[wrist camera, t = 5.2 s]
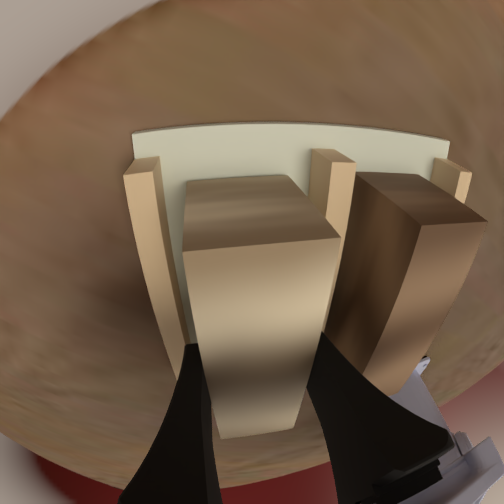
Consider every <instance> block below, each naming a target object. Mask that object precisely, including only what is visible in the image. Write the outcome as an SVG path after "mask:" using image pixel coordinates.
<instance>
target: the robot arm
mask: <svg viewBox="0 0 504 504" xmlns="http://www.w3.org/2000/svg"><path fill="white" fill-rule="evenodd" d="M429 362H430V358H429V357H426V358H423V359H421V360H420V362H419V363H418V365H417V366H416V368H415V369H414V371H413V372H412V374H411V375H410V377H409V378H408V380H407V381H406V382H405V384H404V385H403V387H402V388H401V389H400V391H399V392H398V393H396V394H394V395H391V396H387V395H385V394H384V393H383V392H382V391H380V390H379V389H378V388H377V387H376V386H374V385H373V384H372V383H371V382H370V381H369V380H368V379H366V378H365V377H364V376H363V375H362V374H361V373H360V372H359V371H358V370H357V369H356V368H355V367H354V366H353V365H352V364H351V363H350V362H349V361H348V360H347V359H346V358H345V357H344V356H343V354H342V353H341V352H340V351H339V350H338V349H337V348H336V347H335V346H334V344H333V343H332V342H331V341H330V340H329V339H328V337H327V336H326V335H325V334H324V333H323V331H321V335H320V339H319V343H318V347H317V350H316V354H315V358H314V362H313V365H312V369H311V372H310V376H309V379H308V383H307V386H306V388H307V390H308V393H309V395H310V398H311V400H312V403H313V406H314V408H315V411H316V413H317V416H318V418H319V421H320V423H321V426H322V429H323V433H324V436H325V440H326V444H327V448H328V452H329V456H330V460H331V465H332V469H333V474H334V479H335V485H336V491H337V498H338V504H480V502H481V501H482V499H483V498H484V496H485V494H486V492H487V490H488V489H489V488H490V487H491V486H492V485H493V484H495V483H496V482H497V481H498V480H499V479H500V478H501V477H502V476H503V475H504V464H503V462H502V460H501V457H500V455H499V453H498V451H497V449H496V447H495V445H494V443H493V441H492V439H491V437H487V438H486V439H485V440H483V441H482V442H481V443H479V444H478V445H477V446H475V447H473V445H472V443H471V441H470V439H469V437H468V436H467V434H466V433H464V432H460V431H459V432H457V433H456V434H455V435H454V433H452V432H450V430H449V428H448V426H447V424H446V422H445V420H444V418H443V416H442V415H441V413H440V411H439V409H438V407H437V405H436V403H435V402H434V400H433V398H432V396H431V394H430V393H429V391H428V389H427V387H426V386H425V384H424V382H423V380H422V379H421V377H420V375H421V373H422V372H423V370H424V369H425V367H426V366H427V365H428V363H429ZM117 504H223V503H222V498H221V493H220V487H219V482H218V476H217V471H216V465H215V458H214V452H213V442H212V418H211V399H210V395H209V391H208V386H207V382H206V378H205V373H204V369H203V364H202V359H201V355H200V350H199V345H198V343H193V344H186V345H185V346H184V354H183V360H182V365H181V369H180V373H179V377H178V380H177V383H176V387H175V390H174V393H173V396H172V399H171V402H170V405H169V408H168V410H167V413H166V416H165V418H164V421H163V423H162V425H161V427H160V430H159V432H158V434H157V436H156V438H155V440H154V442H153V444H152V446H151V448H150V450H149V452H148V454H147V456H146V457H145V459H144V461H143V462H142V464H141V466H140V467H139V469H138V470H137V472H136V474H135V475H134V477H133V478H132V480H131V481H130V483H129V484H128V485H127V487H126V488H125V489H124V491H123V492H122V494H121V495H120V496H119V499H118V503H117Z"/></svg>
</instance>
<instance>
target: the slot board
mask: <svg viewBox="0 0 504 504" xmlns="http://www.w3.org/2000/svg"><path fill="white" fill-rule="evenodd" d="M132 140H133V148H134V156H135V160H134V161H133V162H132V164H131V165H130V166H129V168H128V169H127V171H126V172H125V173H124V175H123V177H124V183H125V189H126V195H127V201H128V206H129V211H130V216H131V221H132V226H133V231H134V235H135V240H136V244H137V249H138V253H139V257H140V261H141V265H142V269H143V273H144V277H145V281H146V285H147V288H148V292H149V296H150V299H151V303H152V306H153V310H154V313H155V316H156V320H157V323H158V326H159V329H160V332H161V336H162V339H163V342H164V345H165V348H166V351H167V354H168V357H169V360H170V362H171V365H172V368H173V371H174V374H175V376H176V379H177V380H178V377H179V373H180V369H181V365H182V360H183V354H184V346H185V345H186V344H193V343H198V340H197V335H196V330H195V325H194V320H193V314H192V309H191V303H190V298H189V292H188V286H187V280H186V274H185V268H184V261H183V255H182V243H183V226H184V210H185V197H186V185H187V181H197V180H209V179H223V178H238V177H256V176H279V175H288V176H289V177H290V178H291V179H292V180H293V181H294V182H295V184H296V185H297V186H298V187H299V188H300V189H301V190H302V191H303V193H304V194H305V195H306V196H307V197H308V198H309V199H310V201H311V202H312V203H313V204H314V205H315V206H316V208H317V209H318V210H319V211H320V212H321V214H322V215H323V216H324V217H325V218H326V219H327V221H328V222H329V223H330V224H331V225H332V227H333V228H334V229H335V230H336V232H337V233H338V234H339V235H340V236H341V243H340V248H339V253H338V259H337V264H336V269H335V274H334V279H333V283H332V288H331V293H330V297H329V302H328V306H327V310H326V315H325V319H324V323H323V327H322V331H323V333H324V329H325V326H326V322H327V318H328V314H329V310H330V306H331V301H332V297H333V293H334V288H335V284H336V279H337V275H338V270H339V265H340V261H341V256H342V251H343V246H344V240H345V235H346V230H347V224H348V218H349V212H350V206H351V200H352V193H353V187H354V180H355V173H356V172H387V173H406V174H418V175H420V176H422V177H423V178H425V179H427V180H428V181H430V182H432V183H433V184H435V185H436V186H438V187H439V188H441V189H443V190H444V191H446V192H447V193H449V194H450V195H452V196H453V197H455V198H456V199H457V200H459V201H460V202H462V203H463V204H464V203H465V199H466V196H467V192H468V188H469V184H470V180H471V176H472V172H470V171H468V170H466V169H465V168H463V167H461V166H459V165H457V164H455V163H453V162H451V161H449V160H448V159H447V155H448V150H449V144H450V141H447V140H445V139H443V138H438V137H433V136H427V135H422V134H416V133H410V132H403V131H396V130H389V129H382V128H373V127H364V126H354V125H342V124H328V123H309V122H232V123H213V124H198V125H186V126H176V127H167V128H158V129H150V130H143V131H136V132H134V133H133V134H132Z"/></svg>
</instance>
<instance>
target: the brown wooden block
mask: <svg viewBox="0 0 504 504" xmlns="http://www.w3.org/2000/svg"><path fill="white" fill-rule="evenodd" d="M487 223H488V221H486V220H485V219H484V218H483V217H481V216H480V215H479V214H477V213H476V212H474V211H473V210H472V209H470V208H469V207H468V206H466V205H465V204H463V203H462V202H460V201H459V200H457V199H456V198H455V197H453V196H452V195H450V194H449V193H447V192H446V191H444V190H443V189H441V188H439V187H438V186H436V185H435V184H433V183H432V182H430V181H428V180H427V179H425V178H423V177H422V176H420V175H418V174H406V173H387V172H356V173H355V180H354V187H353V193H352V200H351V206H350V212H349V218H348V224H347V230H346V235H345V240H344V246H343V251H342V256H341V261H340V265H339V270H338V275H337V279H336V284H335V288H334V293H333V297H332V301H331V306H330V310H329V314H328V318H327V322H326V326H325V329H324V334H325V335H326V336H327V337H328V339H329V340H330V341H331V342H332V343H333V344H334V346H335V347H336V348H337V349H338V350H339V351H340V352H341V353H342V354H343V356H344V357H345V358H346V359H347V360H348V361H349V362H350V363H351V364H352V365H353V366H354V367H355V368H356V369H357V370H358V371H359V372H360V373H361V374H362V375H363V376H364V377H365V378H366V379H368V380H369V381H370V382H371V383H372V384H373V385H374V386H376V387H377V388H378V389H379V390H380V391H382V392H383V393H384V394H385V395H387V396H391V395H394V394H396V393H398V392H399V391H400V389H401V388H402V387H403V385H404V384H405V382H406V381H407V380H408V378H409V377H410V375H411V374H412V372H413V371H414V369H415V368H416V366H417V365H418V363H419V362H420V360H421V359H422V357H423V356H424V354H425V353H426V351H427V349H428V348H429V346H430V345H431V343H432V341H433V340H434V338H435V336H436V334H437V333H438V331H439V329H440V328H441V326H442V324H443V322H444V320H445V319H446V317H447V315H448V313H449V311H450V309H451V307H452V305H453V303H454V301H455V299H456V297H457V295H458V293H459V291H460V289H461V287H462V285H463V283H464V281H465V279H466V276H467V274H468V272H469V270H470V267H471V265H472V263H473V260H474V258H475V255H476V253H477V250H478V248H479V245H480V243H481V240H482V237H483V235H484V232H485V229H486V226H487Z"/></svg>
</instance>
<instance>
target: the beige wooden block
mask: <svg viewBox="0 0 504 504" xmlns="http://www.w3.org/2000/svg"><path fill="white" fill-rule="evenodd" d="M340 243H341V236H340V235H339V234H338V233H337V232H336V230H335V229H334V228H333V227H332V225H331V224H330V223H329V222H328V221H327V219H326V218H325V217H324V216H323V215H322V214H321V212H320V211H319V210H318V209H317V208H316V206H315V205H314V204H313V203H312V202H311V201H310V199H309V198H308V197H307V196H306V195H305V194H304V193H303V191H302V190H301V189H300V188H299V187H298V186H297V185H296V184H295V182H294V181H293V180H292V179H291V178H290V177H289V176H288V175H279V176H256V177H238V178H223V179H209V180H197V181H187V185H186V197H185V210H184V226H183V243H182V255H183V261H184V268H185V274H186V280H187V286H188V292H189V298H190V303H191V309H192V314H193V320H194V325H195V330H196V335H197V340H198V345H199V350H200V355H201V359H202V364H203V369H204V373H205V378H206V382H207V386H208V391H209V395H210V399H211V403H212V407H213V411H214V415H215V419H216V423H217V427H218V430H219V434H220V438H221V439H227V438H236V437H244V436H251V435H258V434H264V433H270V432H275V431H281V430H286V429H291V428H293V427H294V424H295V421H296V418H297V415H298V412H299V409H300V406H301V403H302V399H303V396H304V393H305V389H306V386H307V383H308V379H309V376H310V372H311V369H312V365H313V362H314V358H315V354H316V350H317V347H318V343H319V339H320V335H321V331H322V327H323V323H324V319H325V315H326V310H327V306H328V302H329V297H330V293H331V288H332V283H333V279H334V274H335V269H336V264H337V259H338V253H339V248H340Z"/></svg>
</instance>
